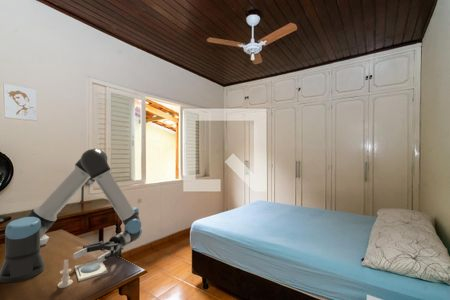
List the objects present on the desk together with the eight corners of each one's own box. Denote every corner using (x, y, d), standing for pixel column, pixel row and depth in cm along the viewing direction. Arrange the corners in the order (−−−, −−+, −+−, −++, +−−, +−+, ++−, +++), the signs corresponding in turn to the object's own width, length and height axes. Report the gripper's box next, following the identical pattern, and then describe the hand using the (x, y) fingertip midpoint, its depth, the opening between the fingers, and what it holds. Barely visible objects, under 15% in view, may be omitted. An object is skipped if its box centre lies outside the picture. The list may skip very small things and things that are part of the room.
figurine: (33, 248, 125) (34, 221, 125) (29, 244, 131) (30, 218, 131) (49, 244, 130) (50, 218, 130) (45, 240, 136) (46, 215, 136)
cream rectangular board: (74, 267, 105) (74, 265, 105) (100, 260, 112) (100, 259, 112) (78, 281, 95) (78, 279, 95) (107, 272, 102) (107, 270, 102)
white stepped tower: (74, 284, 93) (75, 258, 93) (59, 289, 89) (60, 263, 89) (71, 279, 96) (71, 254, 96) (56, 284, 92) (56, 258, 92)
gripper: (139, 250, 119) (108, 271, 99) (100, 245, 126) (64, 262, 105) (139, 236, 119) (108, 254, 99) (100, 231, 126) (64, 246, 105)
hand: (85, 258), depth 102 cm, fingers open, 13 cm apart
